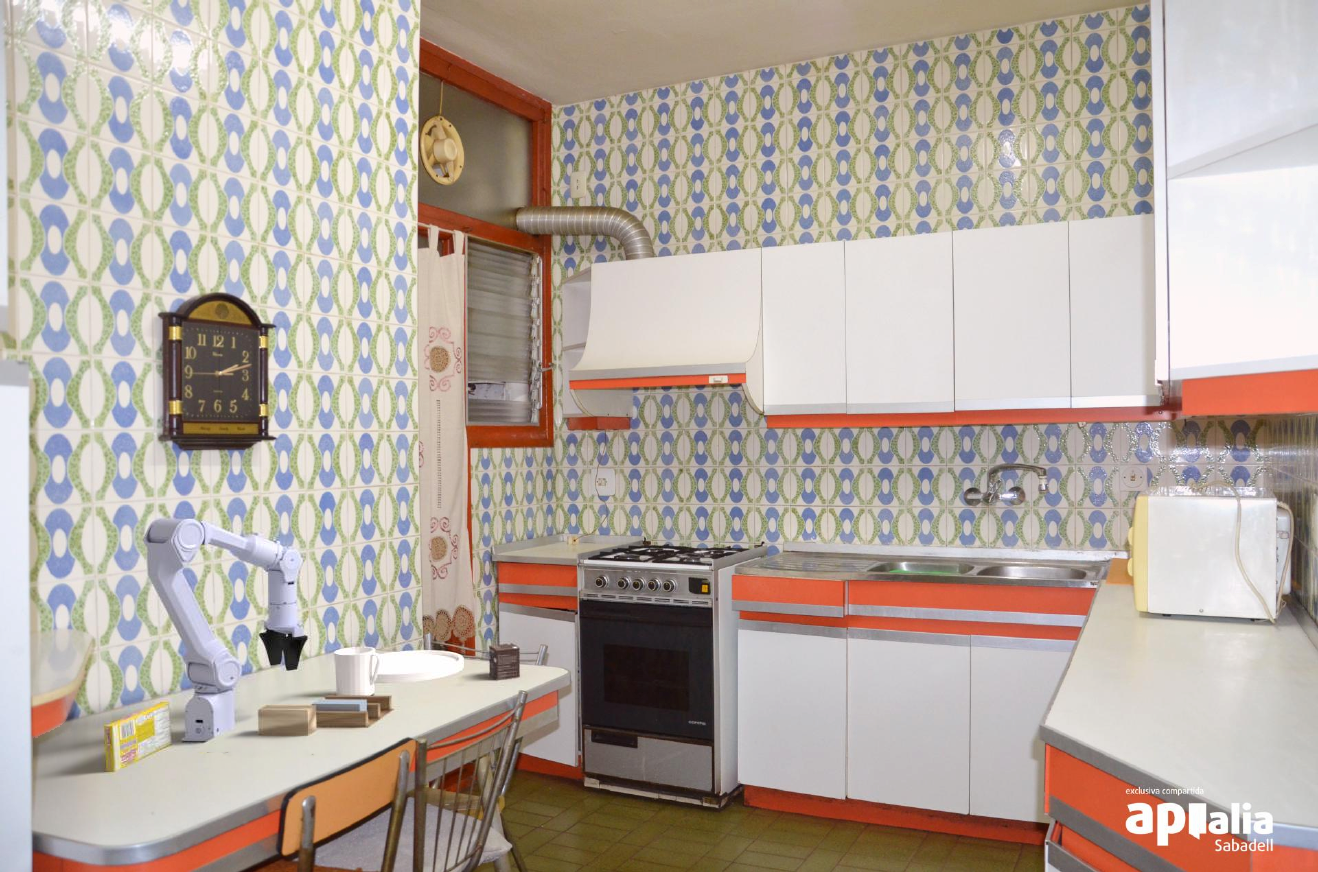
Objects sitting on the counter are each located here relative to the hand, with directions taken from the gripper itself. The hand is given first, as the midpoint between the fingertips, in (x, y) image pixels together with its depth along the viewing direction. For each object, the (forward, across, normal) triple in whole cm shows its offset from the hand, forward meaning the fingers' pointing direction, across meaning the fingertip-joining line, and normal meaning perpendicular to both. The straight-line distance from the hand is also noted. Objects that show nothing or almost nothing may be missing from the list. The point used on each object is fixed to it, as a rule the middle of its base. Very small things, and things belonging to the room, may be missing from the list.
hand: (283, 667), depth 214 cm
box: (+10, -8, -51) cm, 53 cm away
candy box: (+10, -8, +31) cm, 34 cm away
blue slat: (+9, -18, -3) cm, 20 cm away
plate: (+10, +18, -40) cm, 45 cm away
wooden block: (+10, -17, +7) cm, 21 cm away
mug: (+10, +2, -18) cm, 21 cm away
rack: (+10, -16, -6) cm, 20 cm away
